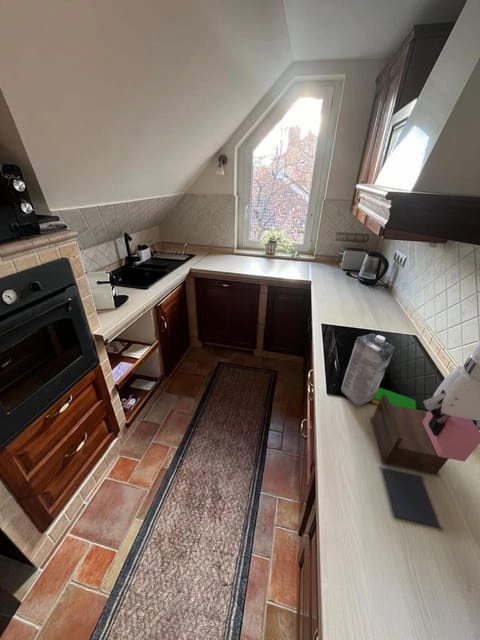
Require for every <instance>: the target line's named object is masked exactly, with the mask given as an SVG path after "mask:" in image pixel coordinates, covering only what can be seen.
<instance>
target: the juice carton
mask: <svg viewBox="0 0 480 640" xmlns="http://www.w3.org/2000/svg"><path fill="white" fill-rule="evenodd" d="M355 339H356V340H355V342H354V346H353V349H352V351H351V355H350V358H349V362H348V364H347V368H346V370H345V374H344V377H343V380H342V384H341V389H340V391H341V393H342V394H343V395H345V396H346V397H347V399H349V400H350V401H351V402H352V403H353V404H354V406H356V407H360V406H363V405H365V404H368V403H370V402H371V401H372V399H373V398H374V396H375V394H376V392H377V390H378V387H379V388H380V385H381V382H382V381H383V378H384V376H385V373H386V371H387V368H388V367H389V366H388V365H389V364H390V361H391V358H392V356H393V353H394V351H395V349H396V347H395V346H394V345H393V344H391V343H388V342H386V337H385V336H383V335H380V334H377V335H376V334H375V333H373V332H372V333H369V334H365V335H361V336H357V337H356V338H355Z"/></svg>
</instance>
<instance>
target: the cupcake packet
mask: <svg viewBox="0 0 480 640" xmlns="http://www.w3.org/2000/svg"><path fill="white" fill-rule="evenodd" d="M437 406H438V405H437ZM437 406H435V407H437ZM426 413H427V415H426V416H425V418H424V420H423V421H422V422H423V424H424V426H425V429H426V431H427V433H428V435H429V437H430V439H431V441H432V444H433V446H434V448H435V450H436V452H437V454H438V456H439V457H444V458H449V459H448V460H455V461H459V462H466V461H467V460H468V458H469V457H470V456H471V455H472V454H473V452H474V451H475V450H476V449H477V448H478V447H479V446H480V430H478V428H477V427H476V425H475V424H474V422H473V421H472V420H471V419H465V418H460V417H455V416H451V417H450V418H449V419H447V420H446V421H445V422H444V424H445V426H444V428H443V429H442V431H441V432H440V434H439V435H438V436H434V435H433V433H432V431H431V429H430V428H429V422H430V420H431V418H432V417H433V415H432V413H431V412H430V411H429V410H427V412H426ZM440 414H441V415H442V414H443V413H442V412H441V413H440Z"/></svg>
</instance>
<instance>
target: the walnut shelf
mask: <svg viewBox="0 0 480 640" xmlns="http://www.w3.org/2000/svg"><path fill="white" fill-rule="evenodd" d="M427 413H428V412H426V410H423V409H422V410H421V409H417V408H416V409H411V408H405V407H400V406H394V405H390V403H389V400H388V397H387V395H384V394H383V395H382V397H381V400H380V402H379V404H377V407H376V408H375V411H374V413H373V415H372V417H371V420H372V424H373V429H374V431H375V435H376V438H377V442H378V446H379V448H380V453H381V457H382V460H383V463H384V464H387V465H391V466H396V467H397V466H398V467H402V468H405V469H411V470H416V471H419V472H424V473H429V474H433V475H437V474H438V473H439V472H440V471H441V469H442V468H443V467H444V466H445V464H446V463H447V461H448V460H450V459H449V458H444V457H439V456H438V454H437V452H436V450H435V448H434V446H433V444H432V441H431V439H430V437H429V435H428V433H427V431H426V429H425V426H424V424H423V422H422V421H423V420H424V418H425V416H426V415H427Z"/></svg>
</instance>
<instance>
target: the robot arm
mask: <svg viewBox="0 0 480 640" xmlns="http://www.w3.org/2000/svg"><path fill="white" fill-rule="evenodd" d="M422 405H424V408H425V409H426V410H427V411H430V412H431V413H432V415H433V417H432V418H431V420H430V422H429V428H430V429H431V431H432V433H433V435H434V436H438V435H439V434H440V432H441V431H442V429H443V428H444V426H445V424H444V422H445V421H446V420H447V419H449V418H450V417H451V416H455V417H460V418H465V419H471V420H472V421H473V422H474V424H475V425H476V427H477V428H478V430H479V431H480V339H479V340H478V342H477V343H476V345H475V346H474V348H473V350H472V351H471V353H470V355H469V356H468V357H467V359H466V361H465V362H464V364H463V365H457V366H456V367H455V368H454V369H452V371H451V372H449V373H448V375H447V376H446V377H445V378H444V379H443V380H442V381H441V383H440V384H439V386H438V387H437V389H436V390H435V391H434V393H433V395H432V397H430V398H427V399H425V400H423V401H422ZM437 405H438V406H437ZM435 406H437V407H435ZM441 412H442V413H443V414H442V415H441V414H440V413H441Z"/></svg>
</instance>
